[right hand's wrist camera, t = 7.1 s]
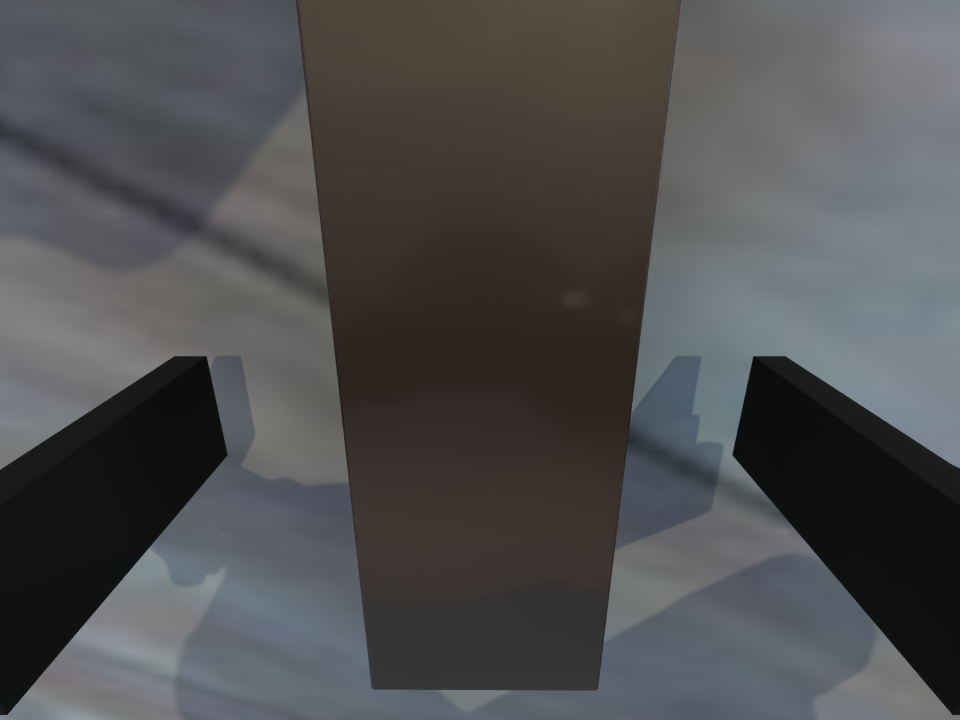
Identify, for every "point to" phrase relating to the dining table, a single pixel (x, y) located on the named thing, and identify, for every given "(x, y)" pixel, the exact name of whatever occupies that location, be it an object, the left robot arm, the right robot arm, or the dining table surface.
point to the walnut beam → (486, 315)
